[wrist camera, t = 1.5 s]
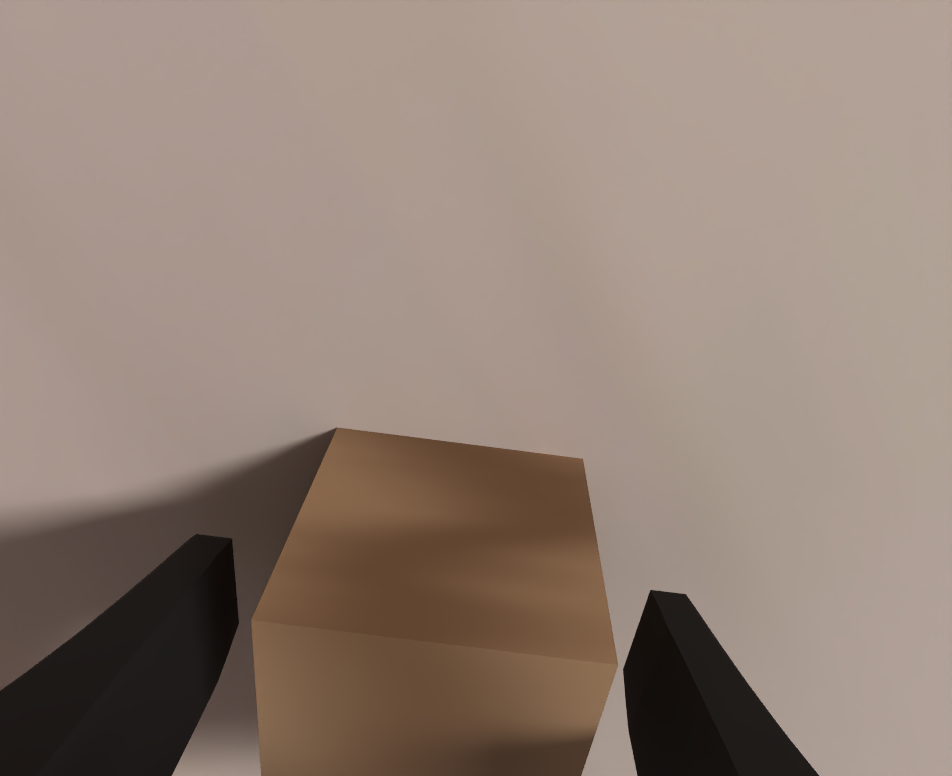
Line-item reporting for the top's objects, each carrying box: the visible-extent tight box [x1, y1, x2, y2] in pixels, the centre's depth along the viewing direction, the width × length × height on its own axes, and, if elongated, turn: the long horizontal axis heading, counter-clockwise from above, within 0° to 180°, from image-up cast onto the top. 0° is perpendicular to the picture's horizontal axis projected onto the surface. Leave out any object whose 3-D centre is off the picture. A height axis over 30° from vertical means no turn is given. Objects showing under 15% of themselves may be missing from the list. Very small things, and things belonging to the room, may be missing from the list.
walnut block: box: [251, 428, 618, 776], centre depth 11 cm, size 4×4×4 cm
